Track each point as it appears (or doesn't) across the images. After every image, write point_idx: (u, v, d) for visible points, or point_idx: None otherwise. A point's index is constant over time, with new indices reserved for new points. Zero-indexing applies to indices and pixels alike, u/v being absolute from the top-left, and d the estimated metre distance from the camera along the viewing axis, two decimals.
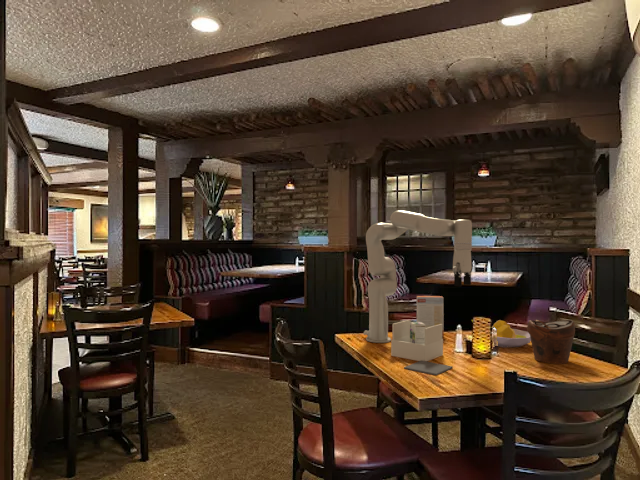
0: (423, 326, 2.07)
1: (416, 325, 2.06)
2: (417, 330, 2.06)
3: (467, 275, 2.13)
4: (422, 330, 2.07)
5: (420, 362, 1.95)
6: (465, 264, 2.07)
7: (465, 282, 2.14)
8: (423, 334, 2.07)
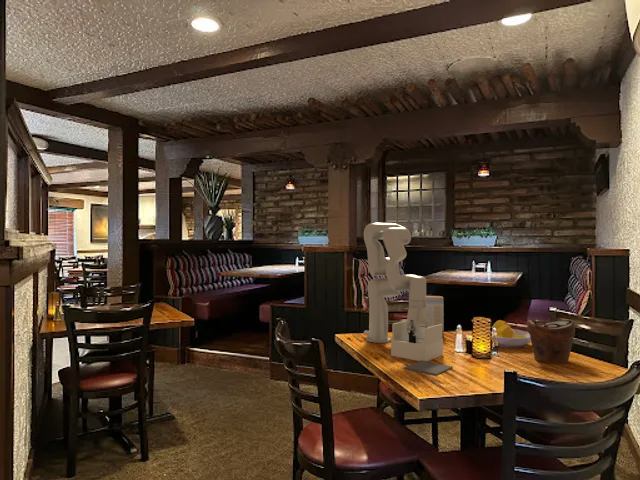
0: (423, 326, 2.07)
1: None
2: (417, 330, 2.06)
3: None
4: (422, 330, 2.07)
5: (420, 362, 1.95)
6: (419, 321, 2.06)
7: None
8: (423, 334, 2.07)
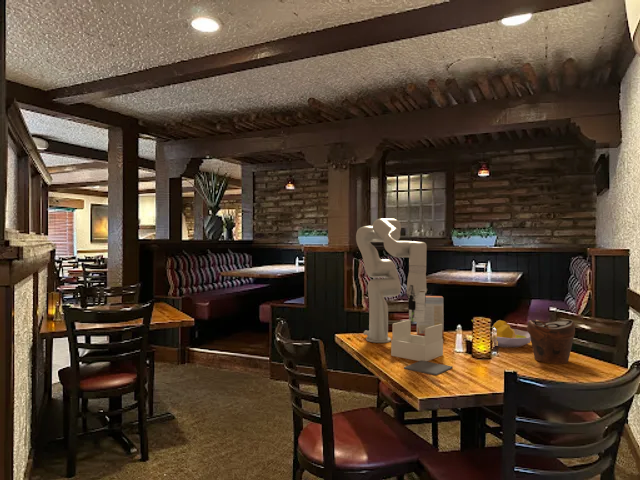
0: (423, 291, 2.07)
1: None
2: (417, 295, 2.07)
3: None
4: (422, 295, 2.07)
5: (420, 362, 1.95)
6: (419, 286, 2.06)
7: None
8: (423, 299, 2.07)
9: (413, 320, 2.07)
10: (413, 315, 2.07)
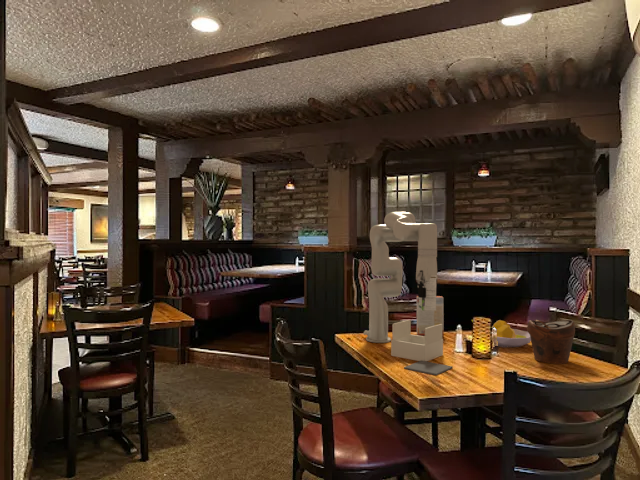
0: (434, 277, 1.88)
1: None
2: None
3: None
4: (433, 281, 1.88)
5: (420, 362, 1.95)
6: (429, 272, 1.87)
7: None
8: (434, 286, 1.88)
9: (424, 309, 1.88)
10: (423, 303, 1.88)
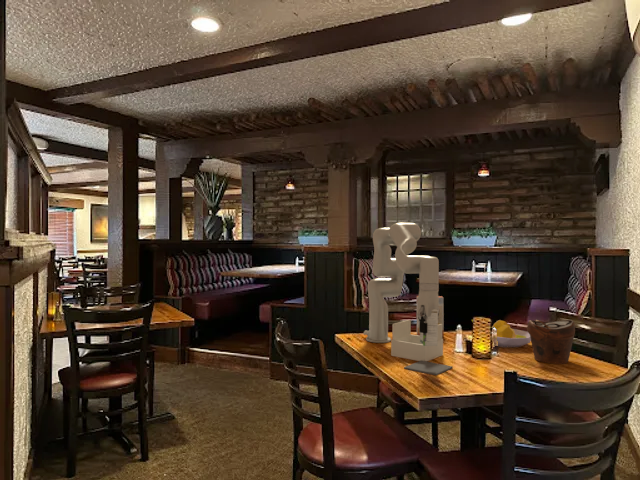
0: (435, 312, 1.85)
1: None
2: None
3: None
4: (434, 316, 1.85)
5: (420, 362, 1.95)
6: (431, 306, 1.85)
7: None
8: (435, 321, 1.85)
9: (425, 344, 1.85)
10: (425, 338, 1.85)
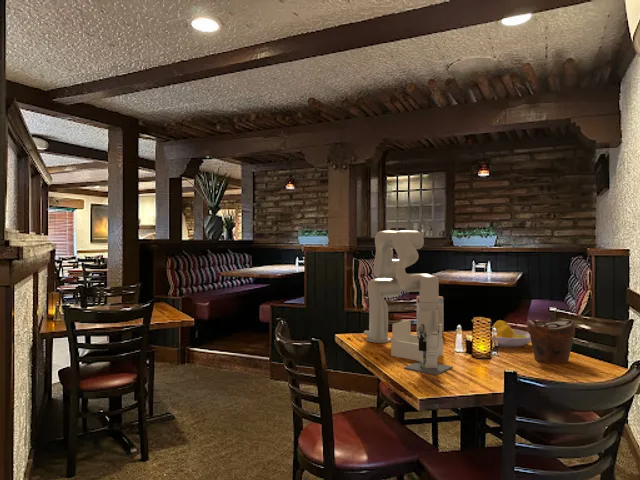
0: (435, 334, 1.86)
1: None
2: (429, 339, 1.85)
3: None
4: (434, 339, 1.86)
5: None
6: (431, 326, 1.85)
7: None
8: (435, 343, 1.86)
9: (425, 366, 1.85)
10: (425, 361, 1.85)
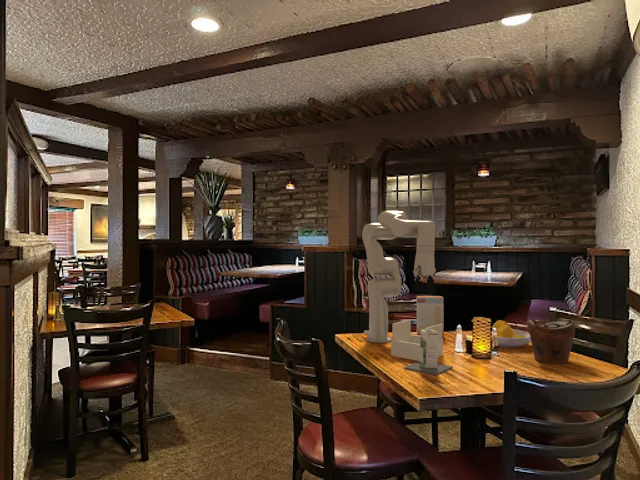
0: (435, 334, 1.86)
1: (428, 333, 1.86)
2: (429, 339, 1.85)
3: (430, 278, 2.06)
4: (434, 339, 1.86)
5: None
6: (427, 267, 1.99)
7: (428, 285, 2.06)
8: (435, 343, 1.86)
9: (425, 366, 1.85)
10: (425, 361, 1.85)
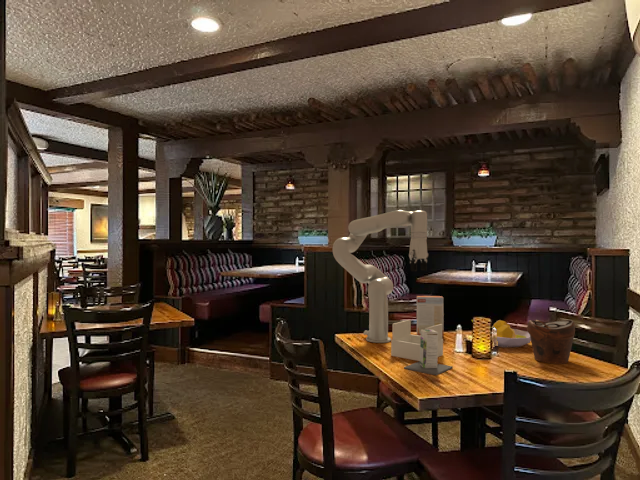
0: (435, 334, 1.86)
1: (428, 333, 1.86)
2: (429, 339, 1.85)
3: (423, 261, 2.33)
4: (434, 339, 1.86)
5: None
6: (420, 251, 2.27)
7: (422, 268, 2.34)
8: (435, 343, 1.86)
9: (425, 366, 1.85)
10: (425, 361, 1.85)
